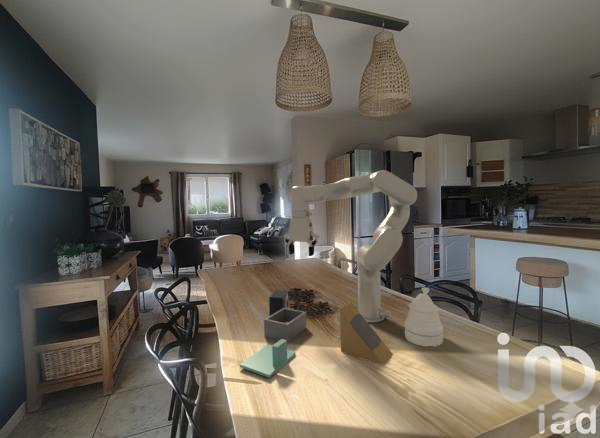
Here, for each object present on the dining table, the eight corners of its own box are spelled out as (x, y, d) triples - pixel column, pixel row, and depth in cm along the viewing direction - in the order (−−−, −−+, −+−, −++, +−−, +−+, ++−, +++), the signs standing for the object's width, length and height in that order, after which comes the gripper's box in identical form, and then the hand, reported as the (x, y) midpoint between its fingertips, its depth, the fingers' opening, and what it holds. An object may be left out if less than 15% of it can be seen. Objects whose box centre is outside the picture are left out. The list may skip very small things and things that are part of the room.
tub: (306, 329, 114) (306, 312, 113) (288, 343, 102) (287, 324, 102) (284, 324, 119) (283, 307, 119) (264, 337, 107) (264, 319, 107)
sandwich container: (385, 366, 87) (384, 318, 86) (340, 352, 96) (339, 308, 95) (394, 354, 94) (393, 309, 93) (351, 341, 103) (350, 301, 102)
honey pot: (413, 327, 113) (413, 282, 112) (448, 337, 104) (448, 289, 103) (398, 338, 104) (398, 290, 103) (435, 350, 95) (435, 297, 94)
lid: (295, 357, 93) (295, 334, 93) (269, 381, 81) (268, 354, 81) (268, 349, 99) (267, 327, 99) (240, 370, 87) (239, 345, 87)
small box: (283, 321, 122) (282, 297, 122) (268, 320, 123) (268, 296, 123) (289, 312, 132) (288, 290, 132) (275, 311, 134) (275, 289, 133)
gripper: (322, 214, 121) (323, 254, 122) (288, 214, 129) (289, 252, 130) (314, 215, 114) (315, 257, 115) (278, 215, 123) (279, 254, 124)
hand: (301, 254), depth 123 cm, fingers open, 9 cm apart
